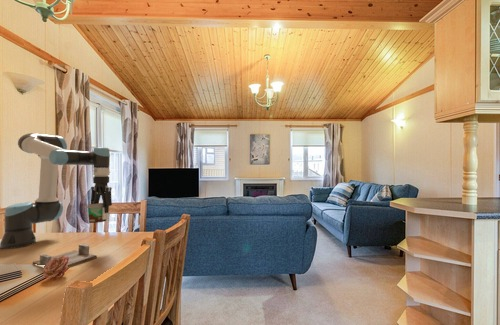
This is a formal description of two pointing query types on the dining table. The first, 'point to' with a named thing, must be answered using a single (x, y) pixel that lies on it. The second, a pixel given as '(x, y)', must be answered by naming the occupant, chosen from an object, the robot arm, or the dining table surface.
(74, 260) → the base
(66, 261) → the flower
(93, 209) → the food container
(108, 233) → the dining table surface
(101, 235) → the dining table surface
